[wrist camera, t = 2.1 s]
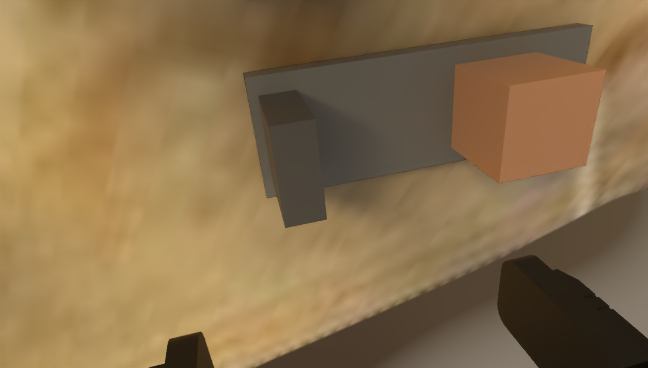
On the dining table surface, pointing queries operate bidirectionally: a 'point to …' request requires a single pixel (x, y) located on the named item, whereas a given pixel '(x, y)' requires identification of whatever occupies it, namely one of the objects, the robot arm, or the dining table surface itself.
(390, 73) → the strip
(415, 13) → the dining table surface
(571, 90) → the block
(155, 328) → the dining table surface
